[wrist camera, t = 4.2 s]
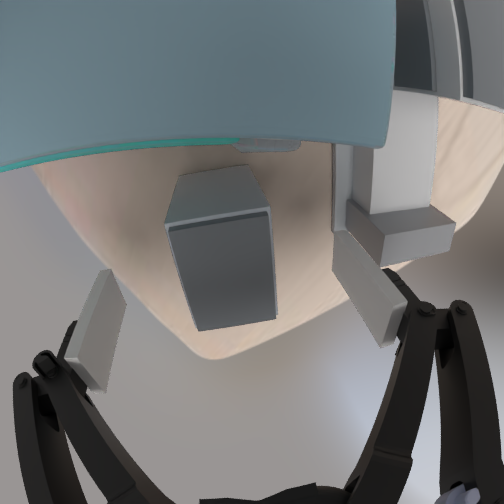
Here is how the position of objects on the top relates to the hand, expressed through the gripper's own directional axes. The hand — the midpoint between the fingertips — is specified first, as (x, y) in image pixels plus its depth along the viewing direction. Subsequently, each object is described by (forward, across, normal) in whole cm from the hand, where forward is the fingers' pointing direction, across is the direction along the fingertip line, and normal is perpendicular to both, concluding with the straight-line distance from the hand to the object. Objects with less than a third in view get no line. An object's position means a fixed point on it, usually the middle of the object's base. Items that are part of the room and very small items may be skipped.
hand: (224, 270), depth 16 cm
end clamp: (+7, +14, -1) cm, 15 cm away
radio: (+7, -1, +12) cm, 14 cm away
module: (+7, 0, 0) cm, 7 cm away
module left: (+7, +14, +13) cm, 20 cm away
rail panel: (+7, +13, +7) cm, 16 cm away
